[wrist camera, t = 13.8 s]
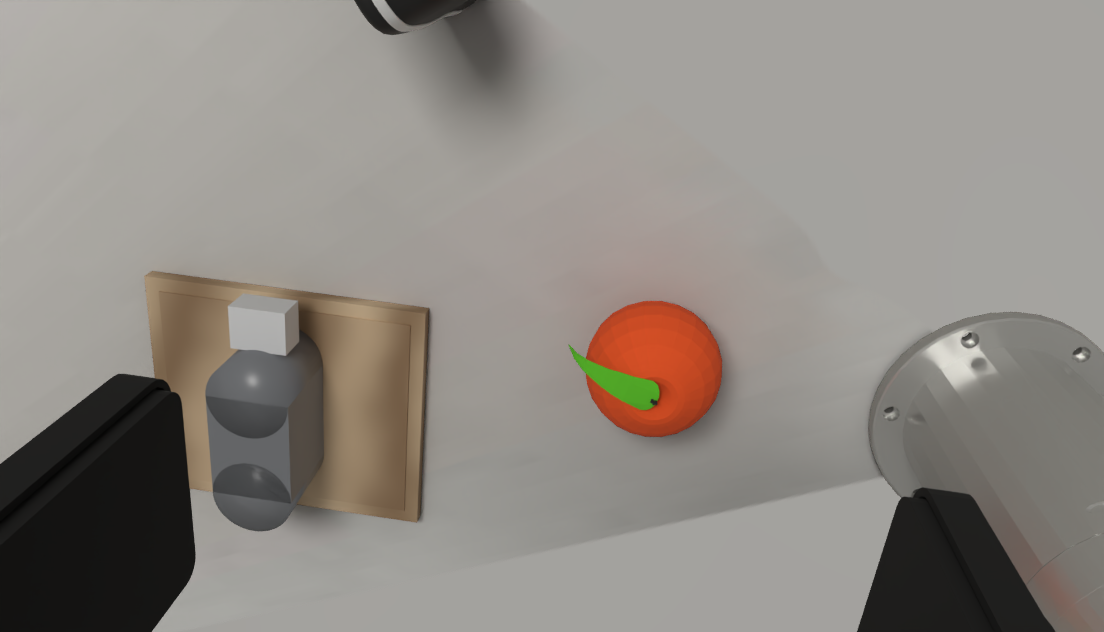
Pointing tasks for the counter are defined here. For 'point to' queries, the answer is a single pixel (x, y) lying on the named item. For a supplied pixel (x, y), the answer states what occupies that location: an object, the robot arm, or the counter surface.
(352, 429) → the board
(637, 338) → the clementine
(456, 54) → the counter surface
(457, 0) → the battery charger
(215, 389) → the usb stick
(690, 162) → the counter surface
